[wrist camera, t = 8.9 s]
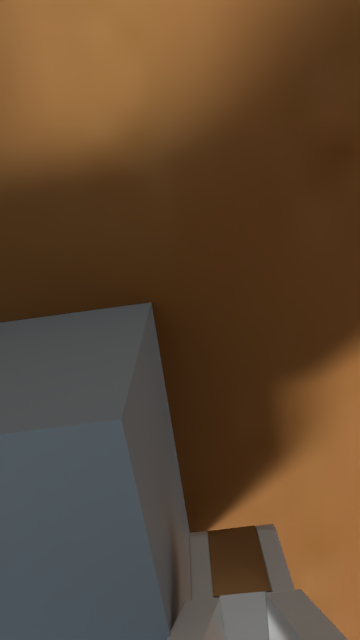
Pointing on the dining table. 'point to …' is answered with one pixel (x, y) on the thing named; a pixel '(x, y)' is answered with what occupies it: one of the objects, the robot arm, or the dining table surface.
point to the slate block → (88, 481)
